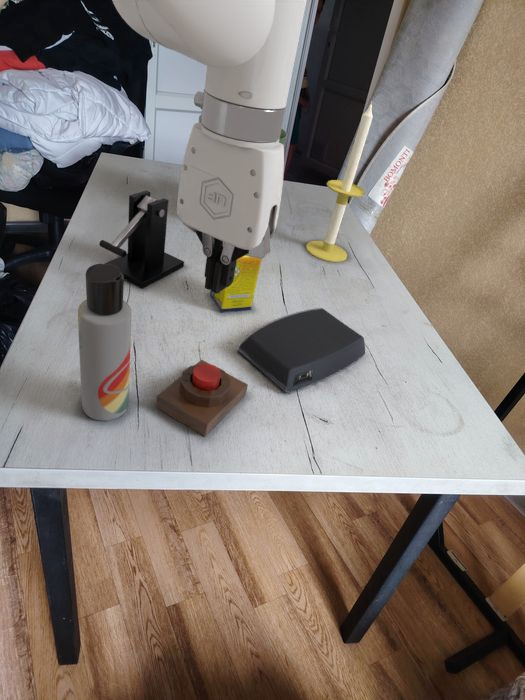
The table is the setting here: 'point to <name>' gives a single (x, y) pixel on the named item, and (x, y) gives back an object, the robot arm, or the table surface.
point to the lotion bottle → (104, 344)
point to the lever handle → (128, 229)
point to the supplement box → (239, 286)
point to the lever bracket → (147, 245)
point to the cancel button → (206, 377)
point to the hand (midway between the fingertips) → (217, 286)
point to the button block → (201, 400)
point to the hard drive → (302, 348)
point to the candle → (342, 197)
